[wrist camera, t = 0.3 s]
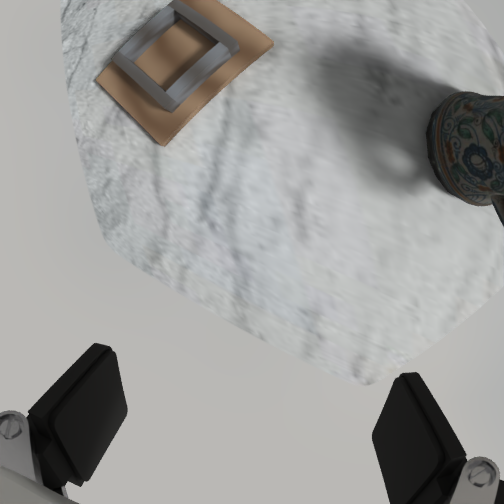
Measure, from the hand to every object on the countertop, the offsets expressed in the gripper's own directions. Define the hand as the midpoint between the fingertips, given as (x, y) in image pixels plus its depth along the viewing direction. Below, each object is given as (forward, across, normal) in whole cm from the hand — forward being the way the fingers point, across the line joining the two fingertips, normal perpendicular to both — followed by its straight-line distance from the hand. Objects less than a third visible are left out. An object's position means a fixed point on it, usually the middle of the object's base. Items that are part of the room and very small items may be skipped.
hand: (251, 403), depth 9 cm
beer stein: (+31, -29, -14) cm, 45 cm away
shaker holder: (+31, +14, -23) cm, 41 cm away
